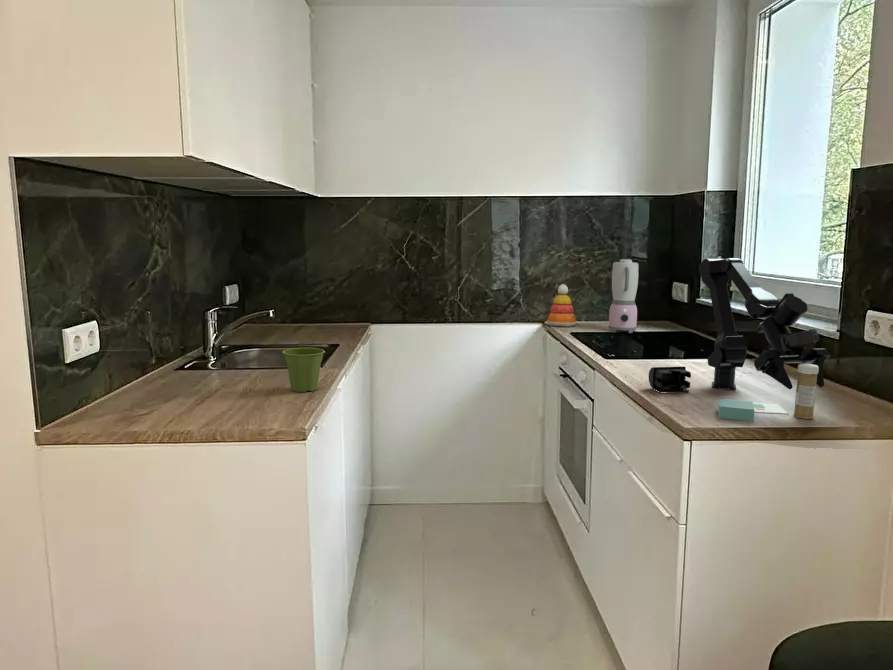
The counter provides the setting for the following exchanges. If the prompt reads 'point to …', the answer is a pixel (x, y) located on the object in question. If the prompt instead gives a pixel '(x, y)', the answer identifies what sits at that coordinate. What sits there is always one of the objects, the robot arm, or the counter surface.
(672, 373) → the end cap
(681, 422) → the counter surface
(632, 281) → the blender
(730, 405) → the brick
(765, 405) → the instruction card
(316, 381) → the plant pot
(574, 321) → the stacking toy
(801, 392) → the sprinkles bottle
